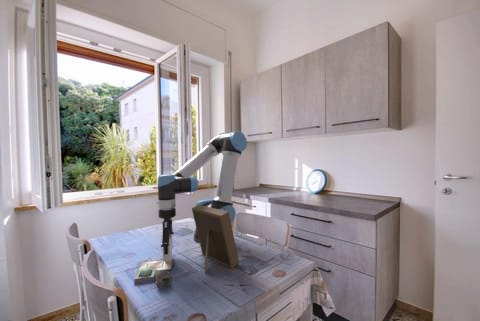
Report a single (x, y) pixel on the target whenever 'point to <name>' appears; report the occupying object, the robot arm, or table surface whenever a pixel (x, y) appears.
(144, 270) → the button
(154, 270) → the button housing
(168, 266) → the cream rectangular board
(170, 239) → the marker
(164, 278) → the stone
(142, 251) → the table surface
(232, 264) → the photo frame
